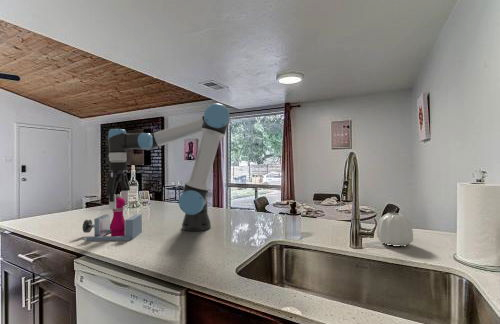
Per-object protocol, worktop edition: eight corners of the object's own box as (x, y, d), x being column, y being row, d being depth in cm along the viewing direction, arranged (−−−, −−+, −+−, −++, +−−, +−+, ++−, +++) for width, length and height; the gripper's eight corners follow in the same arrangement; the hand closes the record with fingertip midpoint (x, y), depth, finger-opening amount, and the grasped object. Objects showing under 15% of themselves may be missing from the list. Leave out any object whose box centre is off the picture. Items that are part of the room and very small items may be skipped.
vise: (142, 231, 139) (142, 213, 139) (131, 240, 124) (131, 220, 124) (102, 231, 138) (102, 214, 138) (86, 240, 123) (86, 220, 123)
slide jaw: (110, 232, 136) (110, 214, 136) (100, 238, 126) (100, 218, 126) (91, 232, 136) (91, 214, 136) (80, 238, 126) (80, 219, 126)
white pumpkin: (370, 241, 123) (370, 211, 123) (393, 238, 128) (393, 209, 128) (396, 251, 110) (396, 218, 110) (420, 247, 115) (421, 215, 115)
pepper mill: (119, 238, 127) (119, 195, 127) (106, 237, 128) (106, 194, 128) (129, 234, 134) (129, 193, 134) (116, 233, 136) (116, 193, 135)
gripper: (121, 161, 143) (122, 202, 143) (96, 162, 118) (98, 211, 119) (135, 161, 143) (136, 201, 144) (114, 161, 119) (115, 210, 119)
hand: (119, 206), depth 131 cm, fingers open, 13 cm apart
